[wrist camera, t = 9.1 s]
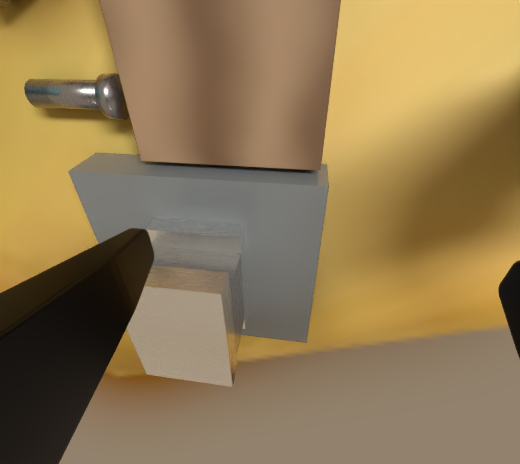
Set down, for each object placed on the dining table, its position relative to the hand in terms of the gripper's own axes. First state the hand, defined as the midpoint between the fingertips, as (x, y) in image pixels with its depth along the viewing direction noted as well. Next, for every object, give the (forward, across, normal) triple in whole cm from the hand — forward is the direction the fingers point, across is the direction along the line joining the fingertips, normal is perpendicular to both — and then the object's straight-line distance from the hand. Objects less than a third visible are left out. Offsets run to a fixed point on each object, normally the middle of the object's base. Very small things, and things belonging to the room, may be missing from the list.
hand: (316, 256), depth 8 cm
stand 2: (+12, +7, +10) cm, 18 cm away
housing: (+10, +7, +10) cm, 16 cm away
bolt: (+12, +14, -1) cm, 19 cm away
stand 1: (+12, +5, -3) cm, 14 cm away
